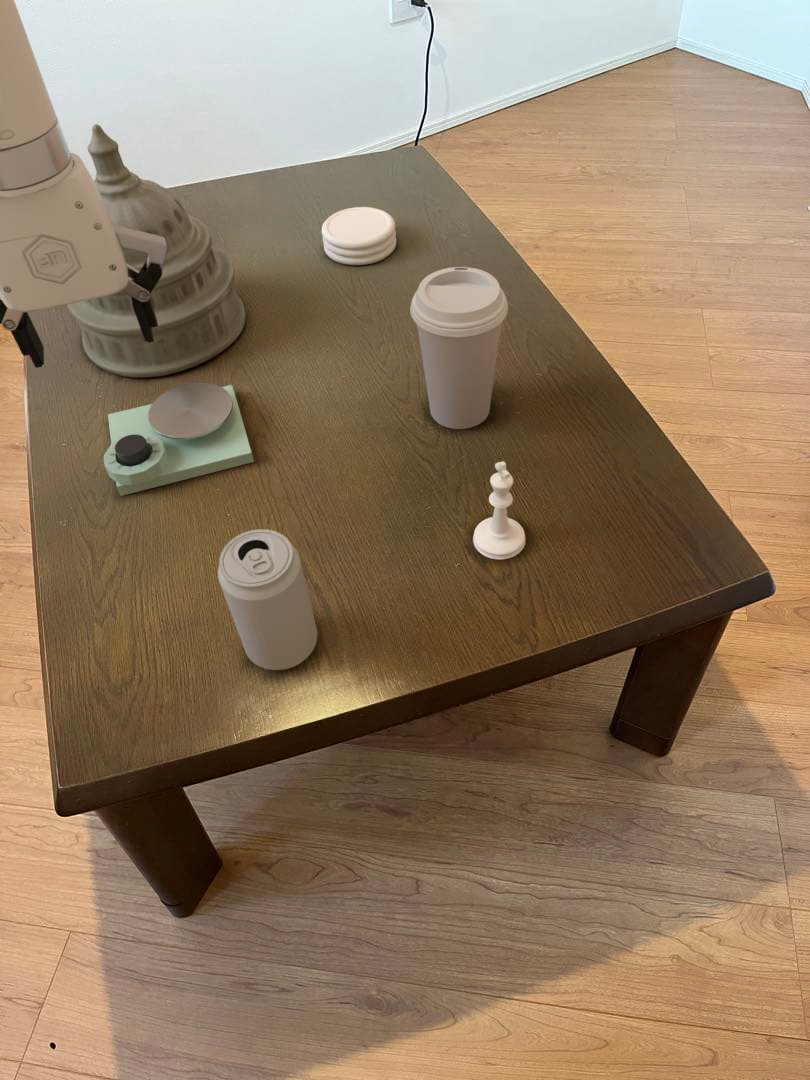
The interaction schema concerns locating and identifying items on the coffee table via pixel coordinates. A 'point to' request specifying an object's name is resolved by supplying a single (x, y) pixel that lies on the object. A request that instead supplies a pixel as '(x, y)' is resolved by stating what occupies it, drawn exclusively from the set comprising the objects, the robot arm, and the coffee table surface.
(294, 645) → the beverage can
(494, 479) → the chess piece
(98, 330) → the dome
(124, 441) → the button
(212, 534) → the coffee table surface
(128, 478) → the scale
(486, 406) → the coffee cup
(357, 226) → the coaster
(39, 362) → the robot arm
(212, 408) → the plate
